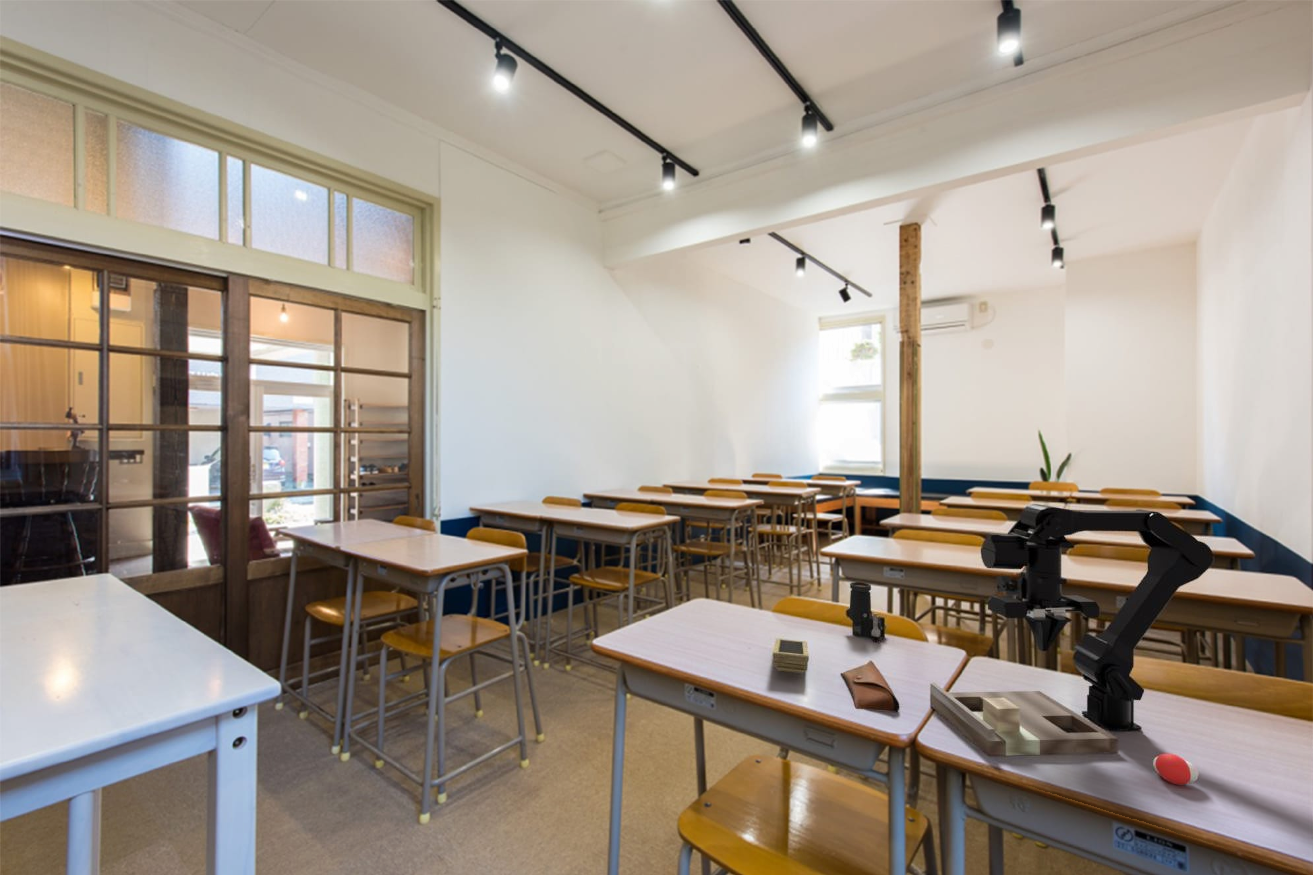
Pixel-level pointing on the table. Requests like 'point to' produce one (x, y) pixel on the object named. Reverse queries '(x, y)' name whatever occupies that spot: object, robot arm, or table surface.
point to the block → (1001, 714)
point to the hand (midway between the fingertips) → (1042, 650)
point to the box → (790, 655)
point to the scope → (864, 613)
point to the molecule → (1175, 769)
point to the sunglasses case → (870, 689)
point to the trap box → (1023, 724)
